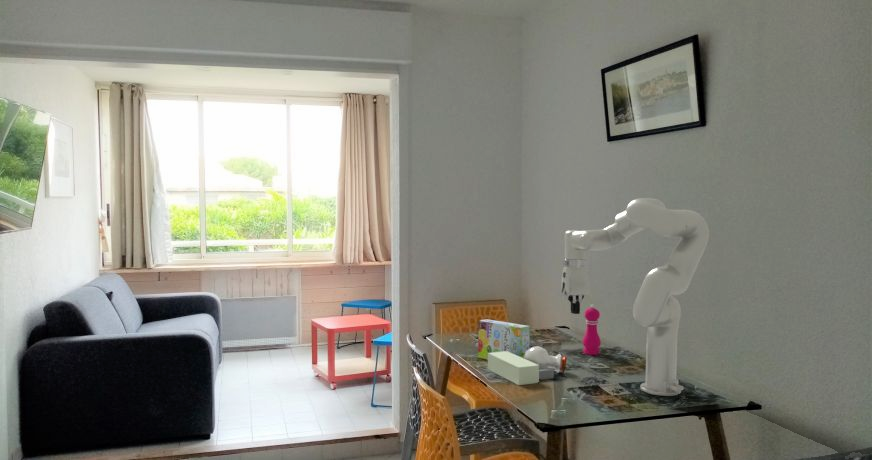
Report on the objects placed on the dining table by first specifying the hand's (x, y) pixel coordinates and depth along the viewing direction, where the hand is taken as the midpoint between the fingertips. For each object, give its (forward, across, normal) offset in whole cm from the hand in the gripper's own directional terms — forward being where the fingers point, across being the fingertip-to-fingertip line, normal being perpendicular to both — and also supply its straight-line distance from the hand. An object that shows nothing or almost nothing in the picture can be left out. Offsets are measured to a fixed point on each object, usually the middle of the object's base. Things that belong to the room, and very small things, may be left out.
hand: (575, 313), depth 234 cm
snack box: (+20, -19, +20) cm, 34 cm away
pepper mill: (+21, +21, +18) cm, 34 cm away
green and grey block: (+20, -22, +1) cm, 30 cm away
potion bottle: (+21, -13, +1) cm, 25 cm away
